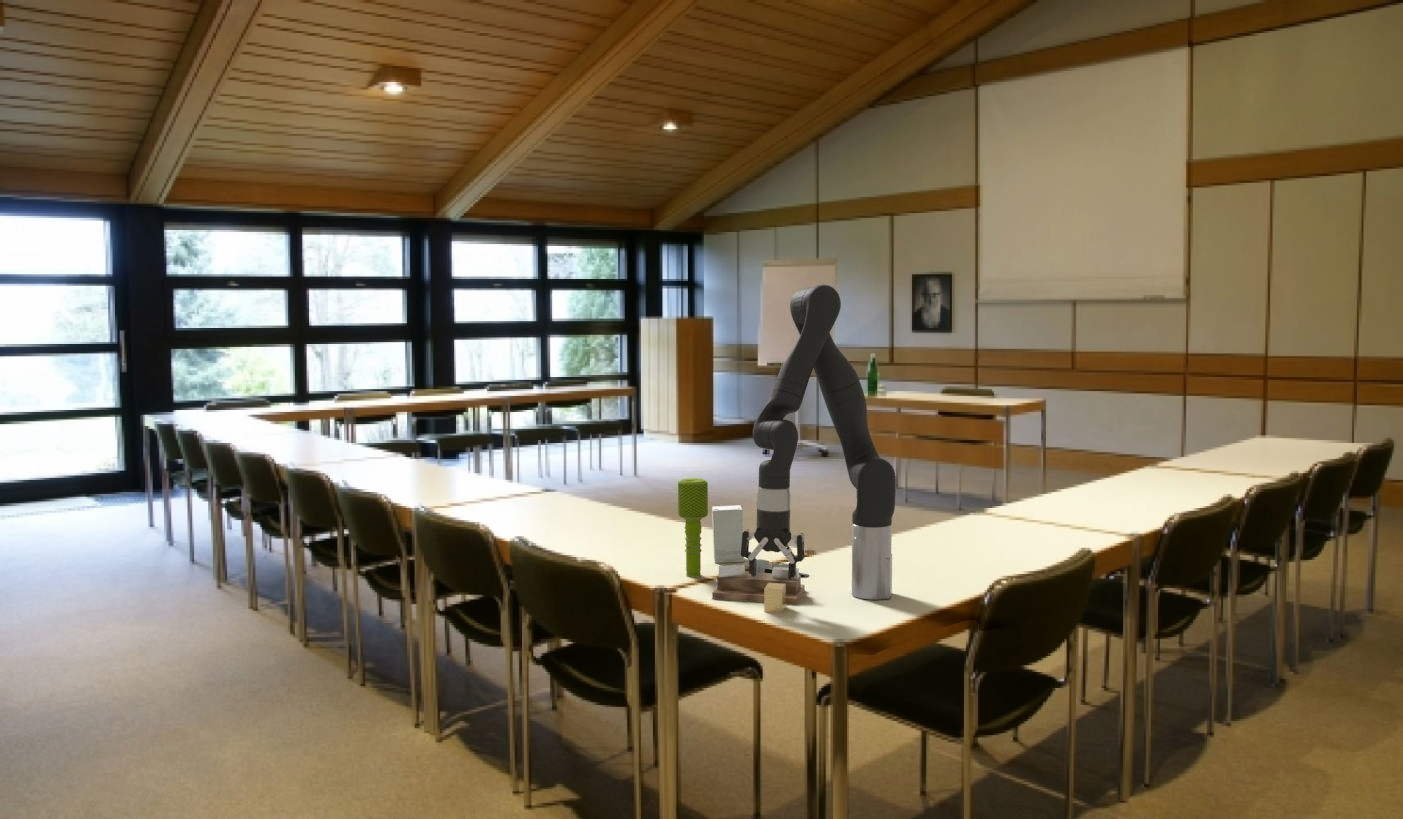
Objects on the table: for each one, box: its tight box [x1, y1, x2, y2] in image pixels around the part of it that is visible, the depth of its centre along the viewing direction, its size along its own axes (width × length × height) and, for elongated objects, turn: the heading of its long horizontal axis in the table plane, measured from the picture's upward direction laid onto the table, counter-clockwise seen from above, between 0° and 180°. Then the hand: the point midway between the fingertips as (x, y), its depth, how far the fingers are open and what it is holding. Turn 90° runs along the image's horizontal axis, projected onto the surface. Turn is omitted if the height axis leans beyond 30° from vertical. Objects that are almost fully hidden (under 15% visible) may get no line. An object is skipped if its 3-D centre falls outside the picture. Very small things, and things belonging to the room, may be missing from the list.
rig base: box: [711, 571, 806, 605], centre depth 241 cm, size 20×12×4 cm, turn 75°
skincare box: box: [711, 504, 745, 564], centre depth 275 cm, size 8×6×15 cm
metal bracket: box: [741, 558, 810, 577], centre depth 259 cm, size 14×6×15 cm
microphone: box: [677, 477, 709, 578], centre depth 259 cm, size 8×8×25 cm
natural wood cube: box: [763, 583, 787, 614], centre depth 229 cm, size 5×4×6 cm
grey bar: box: [718, 564, 800, 580], centre depth 240 cm, size 19×4×2 cm, turn 75°
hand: (772, 577), depth 229 cm, fingers open, 8 cm apart
